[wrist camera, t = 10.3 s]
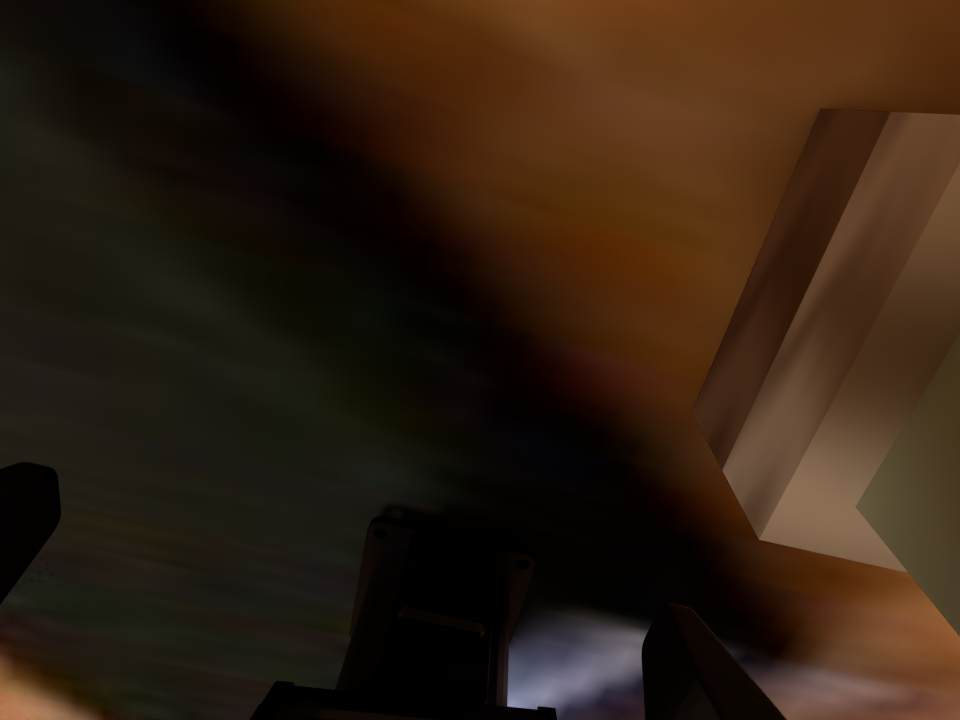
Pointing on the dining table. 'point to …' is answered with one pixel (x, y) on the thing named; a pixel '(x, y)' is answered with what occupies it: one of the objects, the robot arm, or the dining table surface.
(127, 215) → the dining table surface
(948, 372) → the sage brick
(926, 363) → the beige block
